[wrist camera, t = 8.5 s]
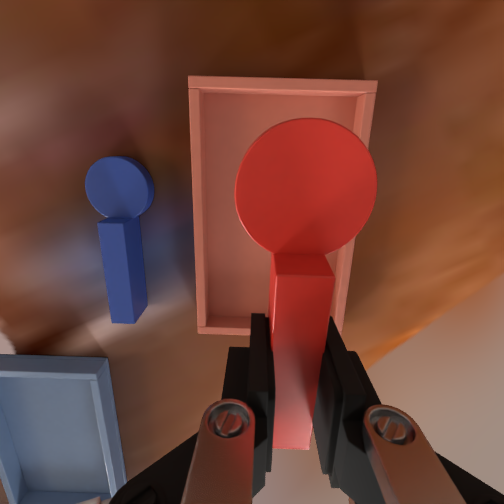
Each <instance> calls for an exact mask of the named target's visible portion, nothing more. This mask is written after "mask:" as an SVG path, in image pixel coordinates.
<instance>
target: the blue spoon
mask: <svg viewBox="0 0 504 504" xmlns="http://www.w3.org/2000/svg"><path fill="white" fill-rule="evenodd" d="M85 189H86V193H87V196H88V199H89V201H90V202H91V204H92V205H93V207H94V208H95V209H96V210H97V211H98V212H99V213H101V214H102V215H104V216H106V217H108V218H107V219H105V220H102V221H100V222H98V223H97V225H98V232H99V238H100V245H101V252H102V259H103V266H104V273H105V280H106V287H107V294H108V301H109V308H110V315H111V321H112V323H124V324H135V323H136V321H137V320H138V318H139V317H140V316H141V314H142V313H143V311H144V310H145V308H146V307H147V306H148V303H147V293H146V282H145V272H144V262H143V252H142V241H141V231H140V221H139V215H141V214H142V213H144V212H145V211H146V210H147V209H148V208H149V207H150V205H151V203H152V201H153V198H154V184H153V180H152V178H151V176H150V174H149V172H148V171H147V170H146V168H145V167H144V166H143V165H142V164H140V163H139V162H138V161H136V160H134V159H132V158H129V157H125V156H111V157H105V158H102V159H100V160H98V161H96V162H95V163H94V164H93V165H92V166H91V167H90V169H89V171H88V173H87V175H86V180H85Z"/></svg>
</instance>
